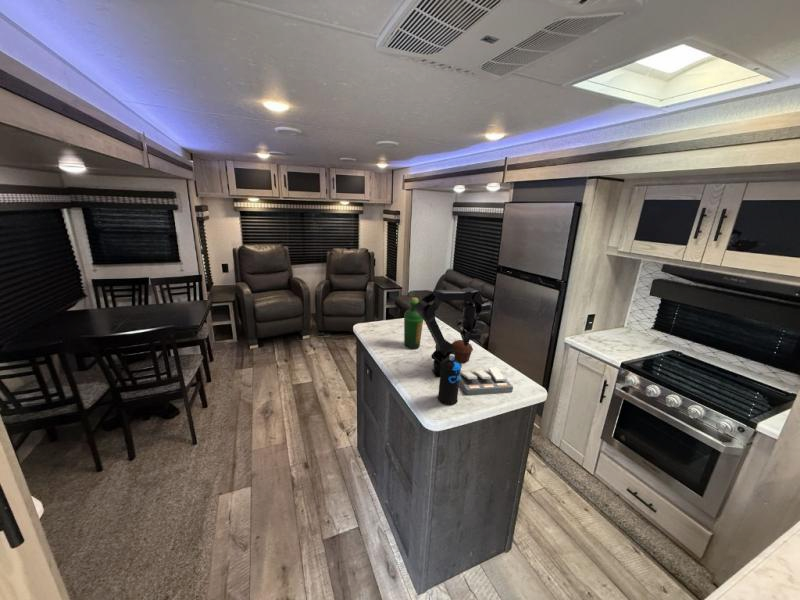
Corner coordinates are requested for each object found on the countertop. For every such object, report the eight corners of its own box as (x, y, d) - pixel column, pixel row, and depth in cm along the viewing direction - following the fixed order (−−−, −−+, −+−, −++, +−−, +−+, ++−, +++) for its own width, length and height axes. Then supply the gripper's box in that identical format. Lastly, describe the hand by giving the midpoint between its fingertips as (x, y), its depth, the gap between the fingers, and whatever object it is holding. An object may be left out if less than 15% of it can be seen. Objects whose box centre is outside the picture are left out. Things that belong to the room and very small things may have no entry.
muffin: (444, 358, 161) (446, 340, 158) (456, 352, 168) (458, 335, 165) (463, 367, 153) (466, 348, 150) (475, 360, 160) (478, 342, 158)
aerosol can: (433, 398, 126) (437, 354, 120) (445, 391, 132) (450, 348, 126) (449, 408, 121) (454, 362, 115) (461, 399, 126) (467, 355, 121)
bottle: (424, 349, 170) (428, 300, 162) (406, 351, 166) (409, 301, 158) (416, 341, 179) (419, 295, 171) (399, 343, 175) (401, 296, 167)
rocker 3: (495, 382, 136) (496, 379, 135) (488, 370, 143) (488, 367, 142) (504, 381, 136) (504, 378, 136) (496, 370, 143) (496, 367, 143)
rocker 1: (468, 380, 133) (468, 376, 133) (461, 375, 141) (461, 372, 141) (477, 379, 133) (477, 376, 133) (469, 375, 141) (469, 371, 141)
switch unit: (466, 395, 130) (467, 389, 129) (454, 377, 143) (455, 372, 142) (512, 391, 134) (513, 386, 133) (497, 375, 147) (497, 370, 146)
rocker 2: (482, 380, 134) (482, 376, 134) (474, 374, 142) (474, 370, 142) (491, 379, 135) (491, 376, 135) (482, 373, 142) (483, 370, 142)
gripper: (494, 321, 136) (490, 353, 141) (477, 308, 154) (473, 337, 159) (470, 322, 134) (467, 354, 139) (456, 308, 152) (452, 337, 156)
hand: (465, 345), depth 148 cm, fingers closed
